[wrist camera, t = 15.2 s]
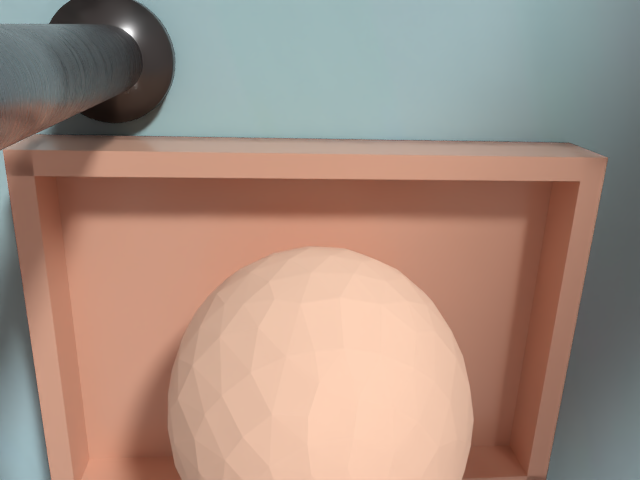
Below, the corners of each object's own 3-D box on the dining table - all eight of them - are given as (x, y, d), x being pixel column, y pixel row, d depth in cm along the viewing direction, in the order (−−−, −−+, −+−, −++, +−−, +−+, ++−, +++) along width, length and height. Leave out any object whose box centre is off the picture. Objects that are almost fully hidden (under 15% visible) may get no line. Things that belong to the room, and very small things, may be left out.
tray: (569, 142, 17) (608, 157, 15) (517, 447, 20) (543, 491, 18) (34, 134, 15) (2, 149, 13) (76, 462, 19) (56, 511, 17)
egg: (459, 353, 18) (597, 587, 10) (266, 453, 18) (267, 741, 11) (357, 163, 16) (440, 287, 8) (141, 283, 16) (37, 500, 9)
